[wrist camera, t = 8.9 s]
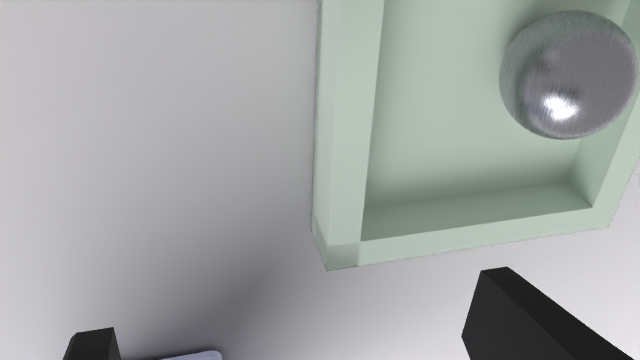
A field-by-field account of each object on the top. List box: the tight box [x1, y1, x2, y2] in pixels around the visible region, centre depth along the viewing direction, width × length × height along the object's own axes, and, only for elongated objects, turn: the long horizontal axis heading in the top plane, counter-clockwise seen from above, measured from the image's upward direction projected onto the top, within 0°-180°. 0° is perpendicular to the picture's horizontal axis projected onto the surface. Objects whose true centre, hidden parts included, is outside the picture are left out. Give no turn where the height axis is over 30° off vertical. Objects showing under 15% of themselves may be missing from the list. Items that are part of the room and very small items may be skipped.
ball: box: [499, 10, 639, 140], centre depth 17 cm, size 4×4×4 cm
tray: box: [311, 0, 640, 271], centre depth 18 cm, size 14×12×2 cm
